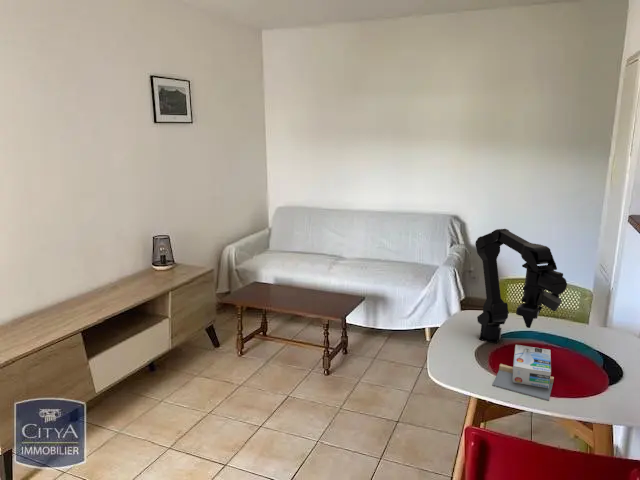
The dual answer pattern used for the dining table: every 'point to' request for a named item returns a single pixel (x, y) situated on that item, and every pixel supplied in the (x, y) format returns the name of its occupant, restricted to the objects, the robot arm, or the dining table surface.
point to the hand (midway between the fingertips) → (528, 327)
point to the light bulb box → (532, 366)
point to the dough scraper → (506, 382)
